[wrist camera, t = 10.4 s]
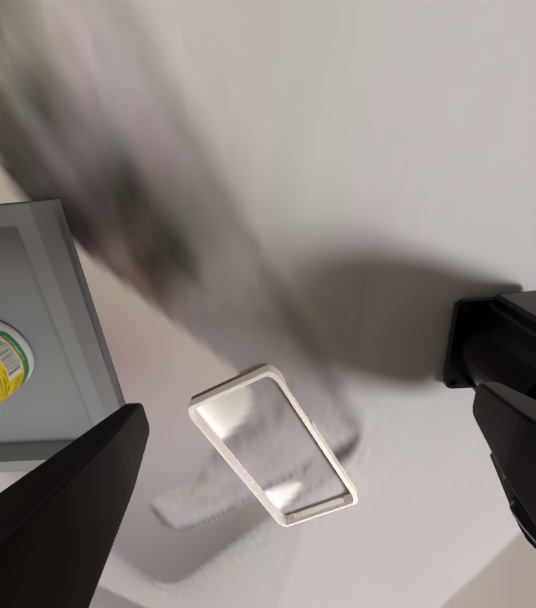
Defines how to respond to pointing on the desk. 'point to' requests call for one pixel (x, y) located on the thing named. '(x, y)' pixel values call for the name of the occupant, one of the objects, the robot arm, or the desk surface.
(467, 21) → the desk surface
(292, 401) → the phone case
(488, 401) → the robot arm
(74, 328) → the tray
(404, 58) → the desk surface
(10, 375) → the supplement bottle
